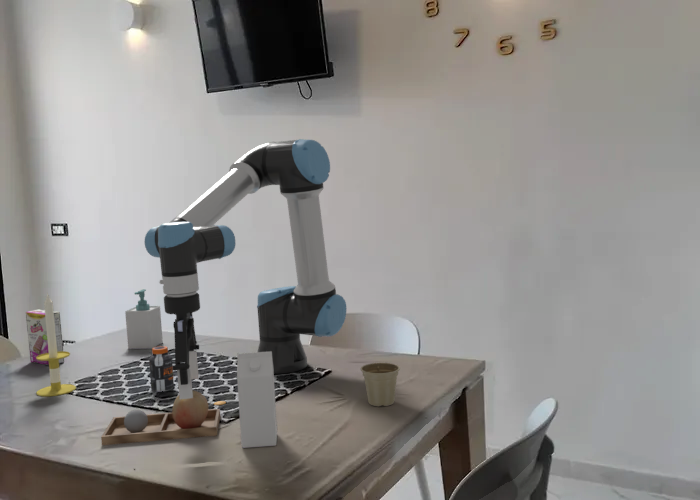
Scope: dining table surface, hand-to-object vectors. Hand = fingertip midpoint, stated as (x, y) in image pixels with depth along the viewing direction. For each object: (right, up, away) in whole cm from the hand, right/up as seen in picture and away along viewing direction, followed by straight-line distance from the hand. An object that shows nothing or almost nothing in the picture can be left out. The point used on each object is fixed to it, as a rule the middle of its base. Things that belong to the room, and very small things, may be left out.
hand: (189, 388), depth 155 cm
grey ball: (-11, -9, -1) cm, 15 cm away
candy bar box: (-60, -5, +67) cm, 90 cm away
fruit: (0, -9, +1) cm, 9 cm away
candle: (-44, -8, +35) cm, 57 cm away
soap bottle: (-34, -2, +84) cm, 90 cm away
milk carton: (+16, -10, -8) cm, 21 cm away
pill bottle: (-15, -7, +33) cm, 37 cm away
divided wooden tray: (-6, -10, 0) cm, 11 cm away
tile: (+1, -8, +17) cm, 18 cm away
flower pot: (+43, -6, +14) cm, 46 cm away
